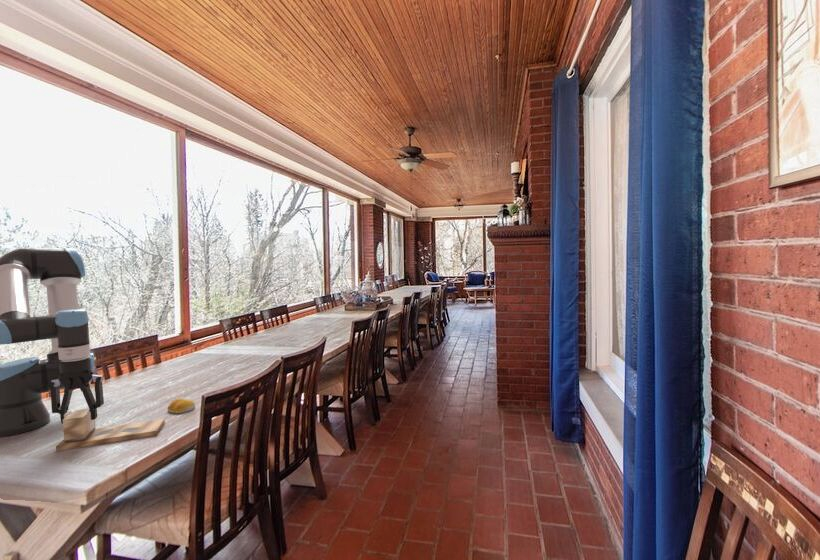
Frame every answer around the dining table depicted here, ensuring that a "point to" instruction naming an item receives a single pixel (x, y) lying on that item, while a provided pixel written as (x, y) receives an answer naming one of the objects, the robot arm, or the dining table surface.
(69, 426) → the block
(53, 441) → the dining table surface
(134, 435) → the oak plank
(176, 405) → the bread roll
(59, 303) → the robot arm
